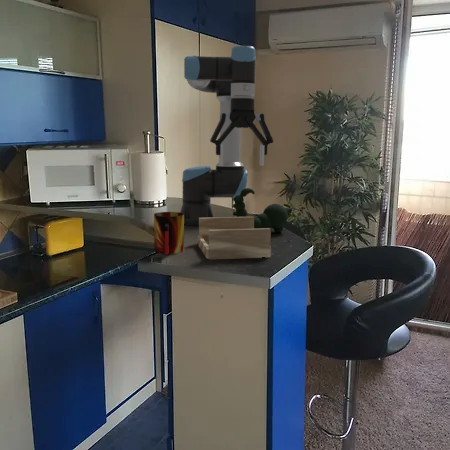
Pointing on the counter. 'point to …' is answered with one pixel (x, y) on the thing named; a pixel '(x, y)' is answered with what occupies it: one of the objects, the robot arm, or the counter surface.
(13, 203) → the counter surface
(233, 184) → the robot arm
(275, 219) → the toy figurine
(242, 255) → the open wooden box
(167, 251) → the mug
